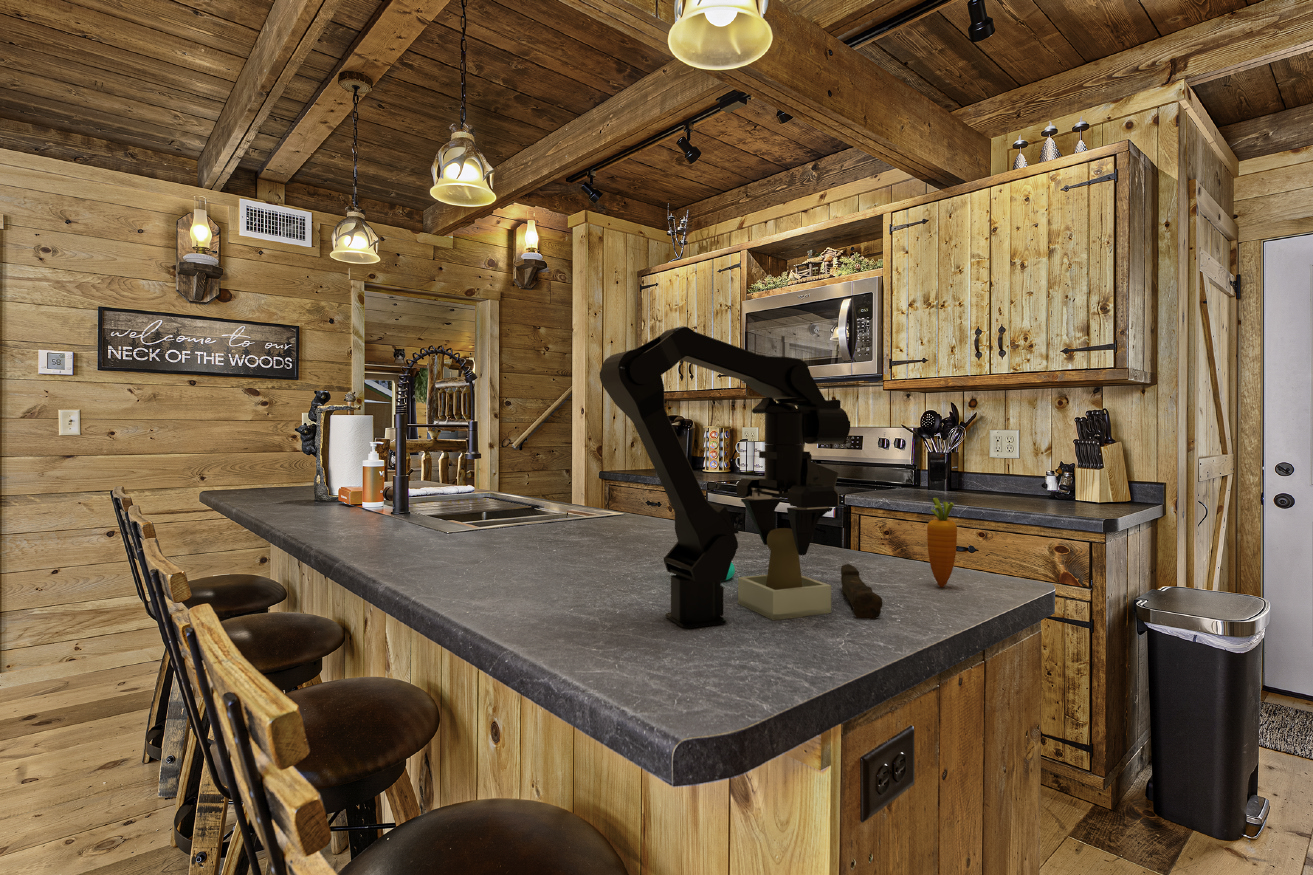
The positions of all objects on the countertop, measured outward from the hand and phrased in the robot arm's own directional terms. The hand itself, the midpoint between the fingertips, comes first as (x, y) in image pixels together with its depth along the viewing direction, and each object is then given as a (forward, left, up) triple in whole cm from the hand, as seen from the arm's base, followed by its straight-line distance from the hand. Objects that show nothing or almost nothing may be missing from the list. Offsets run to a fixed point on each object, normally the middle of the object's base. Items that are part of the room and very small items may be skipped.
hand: (784, 549), depth 101 cm
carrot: (+32, +1, -9) cm, 33 cm away
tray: (0, 0, -9) cm, 9 cm away
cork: (0, 0, -8) cm, 8 cm away
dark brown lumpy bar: (+12, -1, -9) cm, 15 cm away
